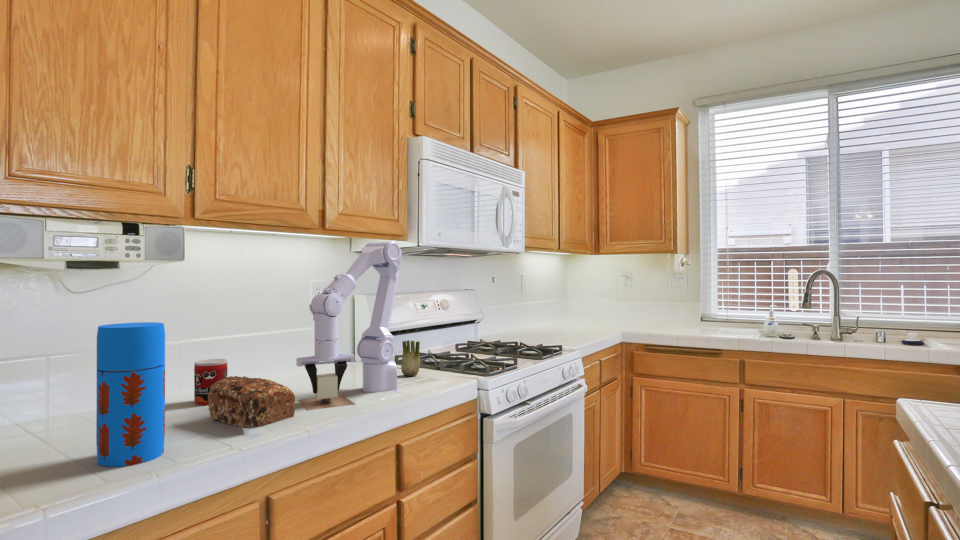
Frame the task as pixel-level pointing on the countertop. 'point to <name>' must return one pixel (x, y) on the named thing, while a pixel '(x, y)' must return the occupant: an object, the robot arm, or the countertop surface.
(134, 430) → the thermos
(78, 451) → the countertop surface
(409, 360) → the fennel bulb
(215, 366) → the canned food
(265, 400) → the bread
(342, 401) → the post base
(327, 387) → the beige cube
